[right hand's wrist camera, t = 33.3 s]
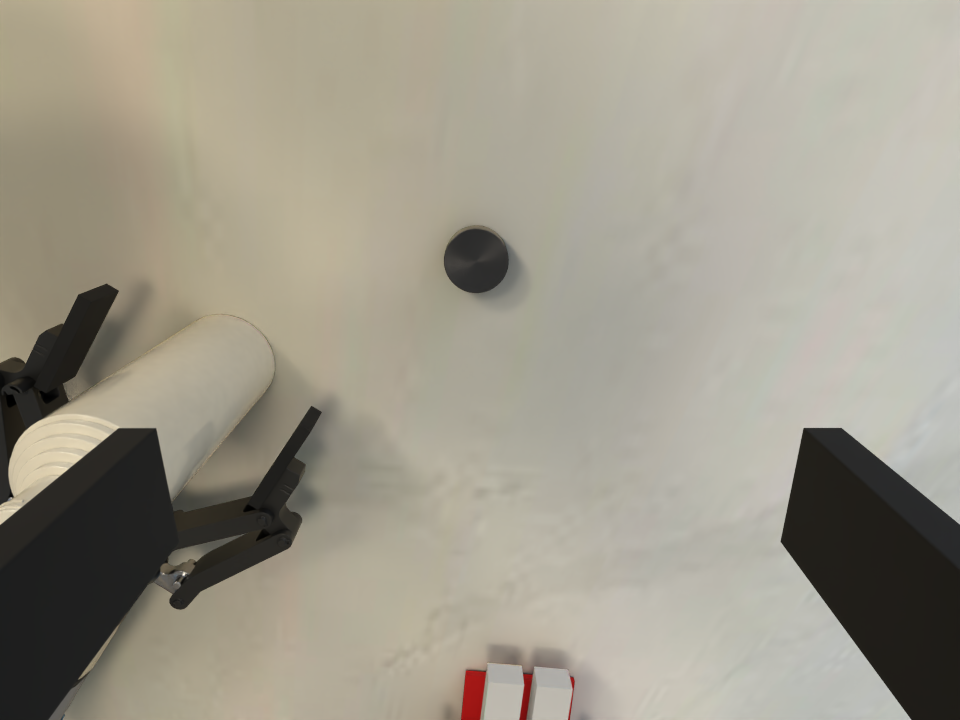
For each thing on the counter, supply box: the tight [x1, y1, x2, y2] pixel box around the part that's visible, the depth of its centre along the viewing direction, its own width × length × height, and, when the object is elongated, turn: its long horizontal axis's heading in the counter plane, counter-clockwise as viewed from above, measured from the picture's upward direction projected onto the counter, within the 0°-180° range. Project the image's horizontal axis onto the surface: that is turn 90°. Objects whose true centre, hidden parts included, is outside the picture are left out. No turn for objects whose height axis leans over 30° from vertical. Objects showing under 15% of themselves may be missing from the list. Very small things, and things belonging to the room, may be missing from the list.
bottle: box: [0, 314, 275, 525], centre depth 33 cm, size 7×7×20 cm
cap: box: [444, 225, 509, 293], centre depth 39 cm, size 4×4×2 cm
